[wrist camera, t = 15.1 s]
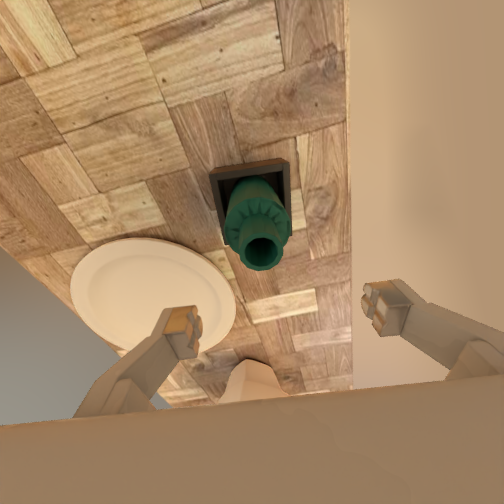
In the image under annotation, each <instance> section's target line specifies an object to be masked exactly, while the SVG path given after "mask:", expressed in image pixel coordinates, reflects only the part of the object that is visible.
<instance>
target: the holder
mask: <svg viewBox="0 0 504 504" xmlns="http://www.w3.org/2000/svg"><path fill="white" fill-rule="evenodd" d="M251 175H258V176H261V177H263V178H264V179H266V180H267V181H268V182H269V183H270V185H271V186H272V188H273V190H274V192H275V193H276V195H277V197H278V198H279V200H280V202H281V203H282V205H283V207H284V208H285V210H286V212H287V214H288V216H289V218H290V222H291V233H290V236H292V216H291V190H290V164H289V162H288V161H286V160H284V159H282V158H276V159H270V160H263V161H257V162H250V163H243V164H237V165H230V166H224V167H217V168H214V169H213V170H212V171H211V172H210V174H209V179H210V183H211V187H212V192H213V196H214V200H215V205H216V209H217V213H218V218H219V222H220V227H221V231H222V235H223V240H224V244H225V245H229V244H228V243H227V241H226V237H225V233H224V225H225V220H226V216H227V211H228V206H229V201H230V197H231V192H232V188H233V186H234V185H235V183H236V182H237V181H238V180H239V179H240V178H242V177H244V176H251Z"/></svg>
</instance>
